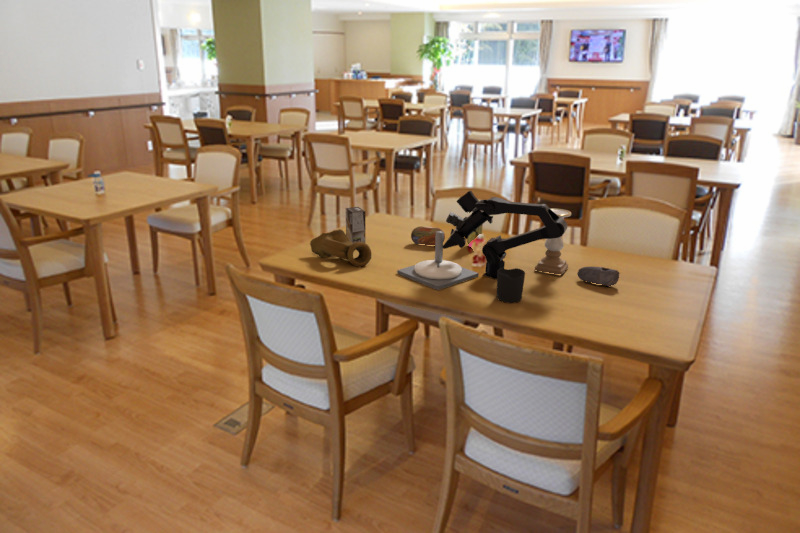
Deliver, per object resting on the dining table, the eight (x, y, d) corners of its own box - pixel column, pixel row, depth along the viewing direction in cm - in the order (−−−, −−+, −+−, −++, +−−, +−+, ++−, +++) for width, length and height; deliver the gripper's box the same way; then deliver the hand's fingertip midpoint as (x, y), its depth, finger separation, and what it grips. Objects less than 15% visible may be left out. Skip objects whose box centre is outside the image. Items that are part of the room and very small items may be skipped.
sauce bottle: (476, 249, 261) (479, 205, 254) (464, 246, 264) (466, 202, 258) (483, 245, 266) (486, 202, 259) (471, 243, 269) (474, 200, 263)
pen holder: (503, 291, 215) (506, 265, 212) (527, 298, 209) (530, 271, 206) (490, 298, 208) (492, 272, 205) (514, 306, 203) (516, 278, 199)
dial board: (478, 276, 229) (478, 272, 228) (437, 290, 215) (438, 285, 214) (437, 262, 244) (437, 258, 243) (397, 273, 230) (397, 269, 229)
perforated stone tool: (574, 281, 226) (576, 264, 224) (579, 277, 230) (581, 260, 228) (613, 291, 218) (616, 273, 216) (618, 286, 222) (621, 269, 220)
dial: (471, 271, 229) (473, 237, 224) (440, 283, 217) (441, 247, 212) (435, 260, 241) (437, 228, 236) (404, 270, 228) (405, 236, 224)
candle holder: (534, 271, 236) (540, 212, 228) (541, 263, 245) (547, 206, 237) (561, 276, 231) (568, 216, 223) (568, 268, 240) (575, 210, 232)
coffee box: (366, 247, 261) (366, 211, 255) (352, 248, 258) (352, 212, 253) (358, 241, 269) (358, 206, 263) (345, 242, 266) (344, 207, 261)
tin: (410, 244, 266) (411, 226, 263) (412, 242, 269) (413, 224, 266) (443, 248, 262) (444, 229, 259) (445, 246, 265) (446, 227, 262)
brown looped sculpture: (353, 232, 256) (376, 237, 237) (347, 261, 257) (369, 269, 238) (314, 223, 247) (334, 228, 228) (307, 254, 247) (327, 261, 228)
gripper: (460, 200, 234) (431, 226, 239) (457, 212, 217) (426, 239, 222) (479, 221, 236) (450, 246, 241) (478, 234, 218) (446, 261, 224)
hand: (443, 247), depth 232 cm, fingers closed
